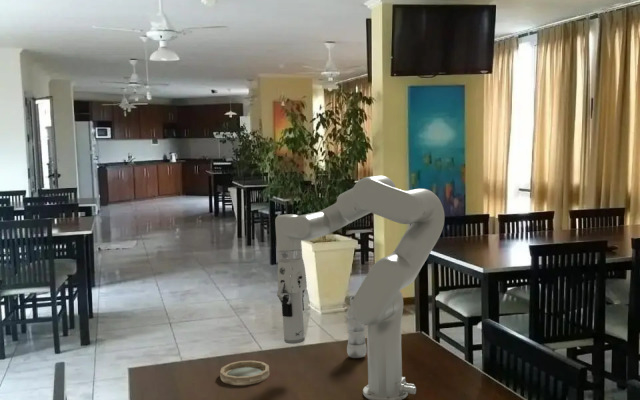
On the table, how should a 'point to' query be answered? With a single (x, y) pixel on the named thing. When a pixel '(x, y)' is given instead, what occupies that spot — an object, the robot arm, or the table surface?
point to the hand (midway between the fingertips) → (293, 313)
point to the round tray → (244, 372)
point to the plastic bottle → (355, 335)
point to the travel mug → (294, 319)
